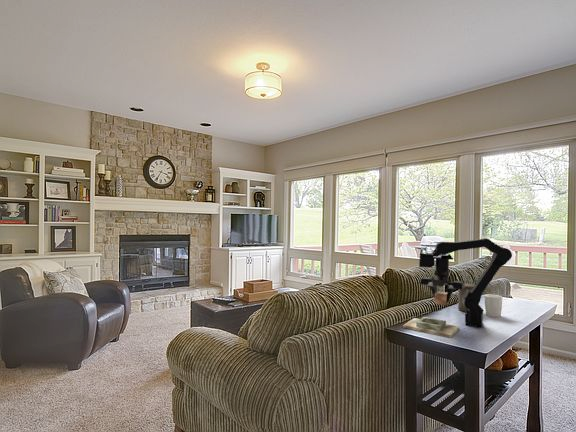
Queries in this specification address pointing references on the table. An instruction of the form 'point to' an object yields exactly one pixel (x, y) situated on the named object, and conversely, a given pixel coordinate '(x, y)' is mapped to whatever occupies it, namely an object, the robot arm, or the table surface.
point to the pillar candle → (460, 293)
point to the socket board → (432, 326)
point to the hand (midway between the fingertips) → (441, 301)
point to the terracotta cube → (441, 298)
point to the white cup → (493, 305)
